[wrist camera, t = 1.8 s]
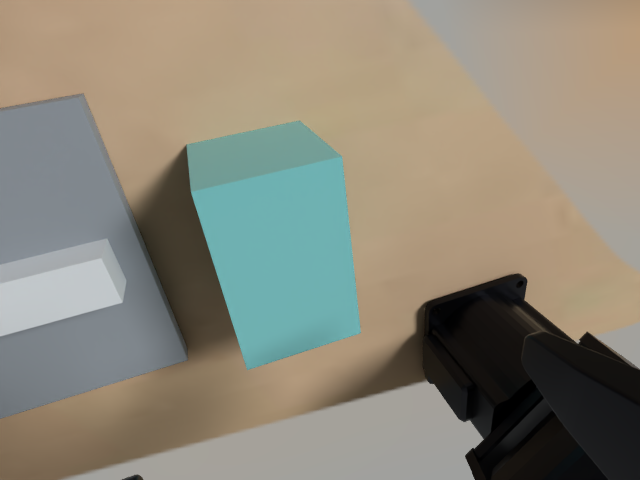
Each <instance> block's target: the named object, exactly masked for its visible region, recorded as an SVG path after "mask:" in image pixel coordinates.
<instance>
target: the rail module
mask: <svg viewBox="0 0 640 480" xmlns="http://www.w3.org/2000/svg"><path fill="white" fill-rule="evenodd" d="M187 155H188V166H189V177H190V188H191V194H192V197H193V200H194V203H195V206H196V210H197V213H198V216H199V219H200V222H201V225H202V229H203V232H204V235H205V238H206V241H207V244H208V248H209V251H210V254H211V257H212V260H213V263H214V266H215V270H216V273H217V276H218V279H219V282H220V285H221V289H222V292H223V295H224V298H225V301H226V304H227V308H228V311H229V314H230V317H231V320H232V323H233V326H234V330H235V333H236V336H237V339H238V342H239V345H240V349H241V352H242V355H243V358H244V361H245V364H246V368H247V370H249V369H252V368H255V367H258V366H261V365H264V364H267V363H270V362H273V361H277V360H280V359H283V358H286V357H289V356H292V355H295V354H298V353H301V352H304V351H307V350H310V349H313V348H316V347H320V346H323V345H326V344H329V343H332V342H335V341H338V340H341V339H344V338H347V337H350V336H353V335H356V334H359V333H361V331H360V321H359V312H358V303H357V293H356V284H355V274H354V265H353V255H352V246H351V236H350V227H349V218H348V208H347V199H346V189H345V180H344V170H343V161H342V156H341V155H340V154H338V153H337V152H336V151H335V150H334V149H333V148H331V147H330V146H329V145H328V144H327V143H325V142H324V141H323V140H322V139H321V138H320V137H318V136H317V135H316V134H315V133H314V132H312V131H311V130H310V129H309V128H308V127H307V126H305V125H304V124H303V123H302V122H301V121H296V122H291V123H286V124H281V125H277V126H272V127H267V128H262V129H258V130H253V131H248V132H244V133H239V134H234V135H229V136H225V137H220V138H215V139H211V140H206V141H201V142H196V143H192V144H187Z"/></svg>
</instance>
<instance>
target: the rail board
mask: <svg viewBox="0 0 640 480" xmlns="http://www.w3.org/2000/svg"><path fill="white" fill-rule="evenodd" d="M187 360H188V350H187V346H186V344H185V341H184V339H183V336H182V334H181V332H180V329H179V327H178V324H177V322H176V319H175V317H174V314H173V312H172V310H171V307H170V305H169V302H168V300H167V297H166V295H165V292H164V290H163V287H162V285H161V283H160V280H159V278H158V275H157V273H156V270H155V268H154V265H153V263H152V261H151V258H150V256H149V253H148V251H147V248H146V246H145V243H144V241H143V239H142V236H141V234H140V231H139V229H138V226H137V224H136V221H135V219H134V216H133V214H132V212H131V209H130V207H129V204H128V202H127V199H126V197H125V194H124V192H123V190H122V187H121V185H120V182H119V180H118V177H117V175H116V172H115V170H114V167H113V165H112V163H111V160H110V158H109V155H108V153H107V150H106V148H105V145H104V143H103V141H102V138H101V136H100V133H99V131H98V128H97V126H96V123H95V121H94V119H93V116H92V114H91V111H90V109H89V106H88V104H87V101H86V99H85V96H84V94H77V95H72V96H66V97H61V98H55V99H49V100H44V101H38V102H33V103H27V104H22V105H16V106H10V107H5V108H0V419H1V418H4V417H7V416H11V415H14V414H17V413H20V412H23V411H27V410H30V409H33V408H36V407H39V406H43V405H46V404H49V403H52V402H55V401H59V400H62V399H65V398H68V397H71V396H75V395H78V394H81V393H84V392H87V391H91V390H94V389H97V388H100V387H103V386H107V385H110V384H113V383H116V382H119V381H123V380H126V379H129V378H132V377H135V376H139V375H142V374H145V373H148V372H151V371H155V370H158V369H161V368H164V367H167V366H171V365H174V364H177V363H180V362H183V361H187Z"/></svg>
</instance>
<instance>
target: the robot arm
mask: <svg viewBox="0 0 640 480" xmlns="http://www.w3.org/2000/svg"><path fill="white" fill-rule="evenodd" d="M526 286H527V279H526V278H525V277H524V276H523V275H521V274H514V275H511V276H508V277H505V278H502V279H498V280H495V281H492V282H489V283H486V284H483V285H480V286H477V287H474V288H470V289H467V290H464V291H461V292H458V293H455V294H452V295H449V296H446V297H442V298H439V299H436V300H433V301H431V302H429V303H428V304H427V306H426V308H425V336H424V339H423V369H424V370H425V378H426V379H427V381H428V382H429V383H430V384H435V386H436V387H437V389H438V390H439V392H440V393H441V394H442V396H443V397H444V399H445V400H446V401H447V403H448V404H449V406H450V407H451V409H452V410H453V411H454V413H455V414H456V416H457V417H458V419H460V420H461V421H463V422H466V421H468V420H470V421H471V422H472V424H473V425H474V426H475V428H476V429H477V430H478V432H479V433H480V435H481V436H482V437H483V439H484V440H483V441H482V442H481V443H480V444H479V445H478V446H477V447H476V448H475V449H474V448H472V449H471V450H470V451H469V452H468V453H467V454H466V455H465V457H466V459H467V462H468V464H469V466H470V469H471V471H472V474H473V477H474V479H475V480H640V369H639V368H638V367H636V366H635V365H634V364H632V363H631V362H630V361H628V360H627V359H625V358H624V357H623V356H621V355H620V354H618V353H617V352H616V351H614V350H613V349H611V348H610V347H608V346H607V345H605V344H604V343H603V342H601V341H600V340H598V339H597V338H596V337H594V336H593V335H591V334H590V333H588V332H586V333H585V334H584V335H583V336H582V337H581V338H580V339H579V340H580V342H579V344H577V343H576V342H575V341H574V340H572V339H571V338H570V337H569V336H568V335H566V334H565V333H564V332H563V331H561V330H560V329H559V328H558V327H557V326H555V325H554V324H553V323H552V322H550V321H549V320H548V319H547V318H546V317H544V316H543V315H542V314H541V313H539V312H538V311H537V310H536V309H534V308H533V307H532V306H531V305H530V304H528V303H527V302H526V301H525V300H524V298H525V292H526ZM434 309H435V310H434ZM122 480H143V478H142V477H141V476H140V475H134V476H131V477H128V478H125V479H122Z"/></svg>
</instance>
